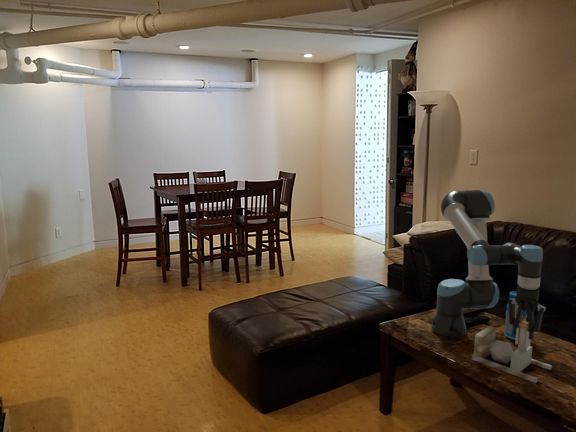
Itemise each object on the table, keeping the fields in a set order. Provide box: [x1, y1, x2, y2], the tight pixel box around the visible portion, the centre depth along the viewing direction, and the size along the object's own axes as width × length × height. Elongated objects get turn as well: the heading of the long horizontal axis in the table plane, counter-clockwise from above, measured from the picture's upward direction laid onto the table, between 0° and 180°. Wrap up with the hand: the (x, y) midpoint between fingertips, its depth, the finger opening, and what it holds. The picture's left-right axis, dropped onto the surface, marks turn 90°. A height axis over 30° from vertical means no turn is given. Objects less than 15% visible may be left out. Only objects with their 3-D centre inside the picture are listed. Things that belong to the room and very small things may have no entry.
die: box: [490, 339, 514, 365], centre depth 187 cm, size 8×9×10 cm
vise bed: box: [471, 326, 553, 384], centre depth 184 cm, size 24×15×10 cm, turn 42°
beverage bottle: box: [503, 290, 528, 340], centre depth 208 cm, size 8×8×20 cm
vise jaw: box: [509, 320, 533, 372], centre depth 181 cm, size 4×12×18 cm, turn 132°
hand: (522, 344), depth 181 cm, fingers closed on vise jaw, 3 cm apart
